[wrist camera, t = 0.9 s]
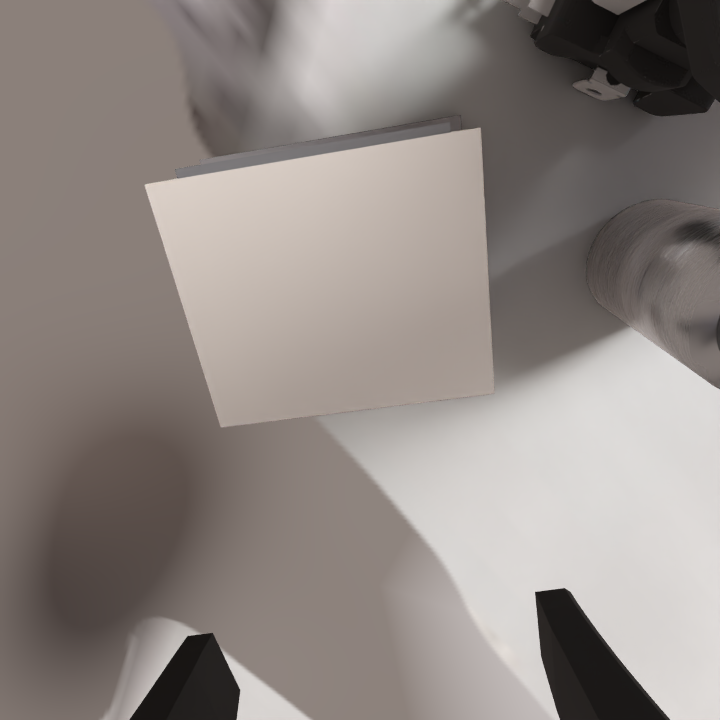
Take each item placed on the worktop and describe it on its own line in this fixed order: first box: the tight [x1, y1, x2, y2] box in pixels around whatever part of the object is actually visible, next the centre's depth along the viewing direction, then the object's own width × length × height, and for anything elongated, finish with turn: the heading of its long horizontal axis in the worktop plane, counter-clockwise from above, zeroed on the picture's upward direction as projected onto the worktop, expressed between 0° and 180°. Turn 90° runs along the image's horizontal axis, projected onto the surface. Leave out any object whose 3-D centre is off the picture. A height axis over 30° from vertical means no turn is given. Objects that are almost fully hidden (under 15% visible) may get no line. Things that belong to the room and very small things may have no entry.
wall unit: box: [145, 115, 494, 427], centre depth 14 cm, size 8×7×6 cm
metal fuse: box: [586, 199, 720, 389], centre depth 14 cm, size 4×4×7 cm
